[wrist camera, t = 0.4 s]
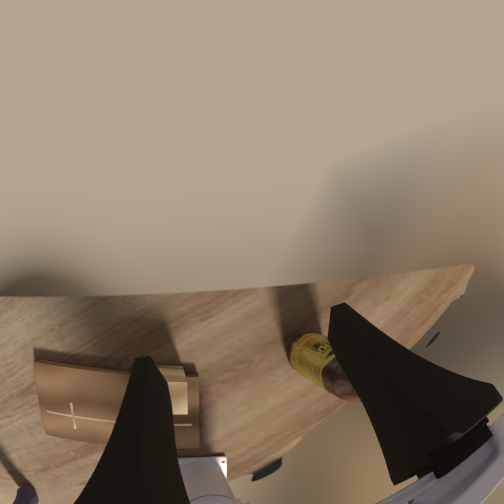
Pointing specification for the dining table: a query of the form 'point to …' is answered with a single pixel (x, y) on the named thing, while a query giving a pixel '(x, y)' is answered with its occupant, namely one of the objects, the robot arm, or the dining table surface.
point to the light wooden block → (176, 387)
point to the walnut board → (99, 403)
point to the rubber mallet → (26, 496)
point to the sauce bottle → (320, 365)
